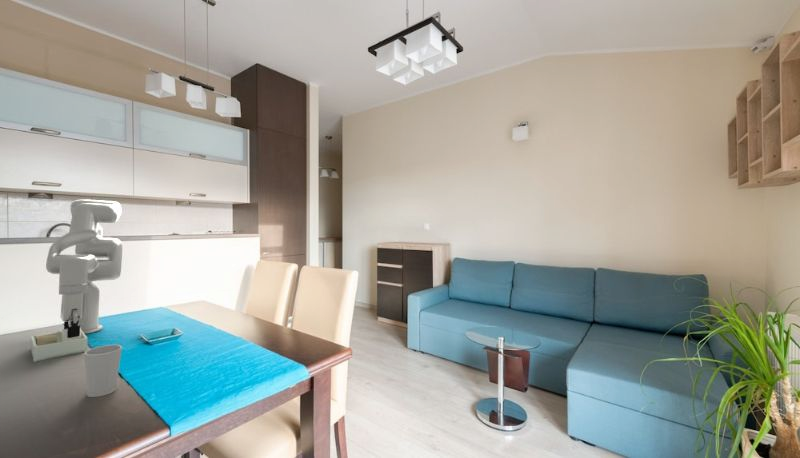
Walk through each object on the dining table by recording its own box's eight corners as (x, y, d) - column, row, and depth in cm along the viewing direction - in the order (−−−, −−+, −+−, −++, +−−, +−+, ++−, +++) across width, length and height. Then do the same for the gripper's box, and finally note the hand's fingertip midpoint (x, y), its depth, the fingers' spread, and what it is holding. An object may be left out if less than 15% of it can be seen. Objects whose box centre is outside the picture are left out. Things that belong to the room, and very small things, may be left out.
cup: (127, 385, 96) (129, 345, 96) (100, 399, 88) (102, 355, 88) (103, 383, 96) (105, 343, 96) (74, 397, 88) (76, 353, 88)
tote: (30, 349, 120) (31, 335, 120) (79, 340, 131) (80, 328, 131) (33, 361, 110) (34, 347, 110) (87, 351, 120) (87, 337, 120)
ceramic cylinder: (63, 346, 122) (63, 328, 122) (81, 344, 125) (82, 326, 125) (59, 351, 118) (60, 332, 118) (78, 348, 121) (79, 330, 121)
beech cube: (35, 348, 120) (36, 335, 120) (55, 345, 123) (55, 332, 123) (36, 352, 116) (37, 338, 116) (56, 348, 120) (57, 335, 120)
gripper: (56, 287, 124) (54, 331, 124) (61, 293, 113) (60, 342, 113) (83, 285, 130) (81, 327, 130) (90, 290, 119) (89, 336, 119)
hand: (71, 334), depth 121 cm, fingers open, 9 cm apart
